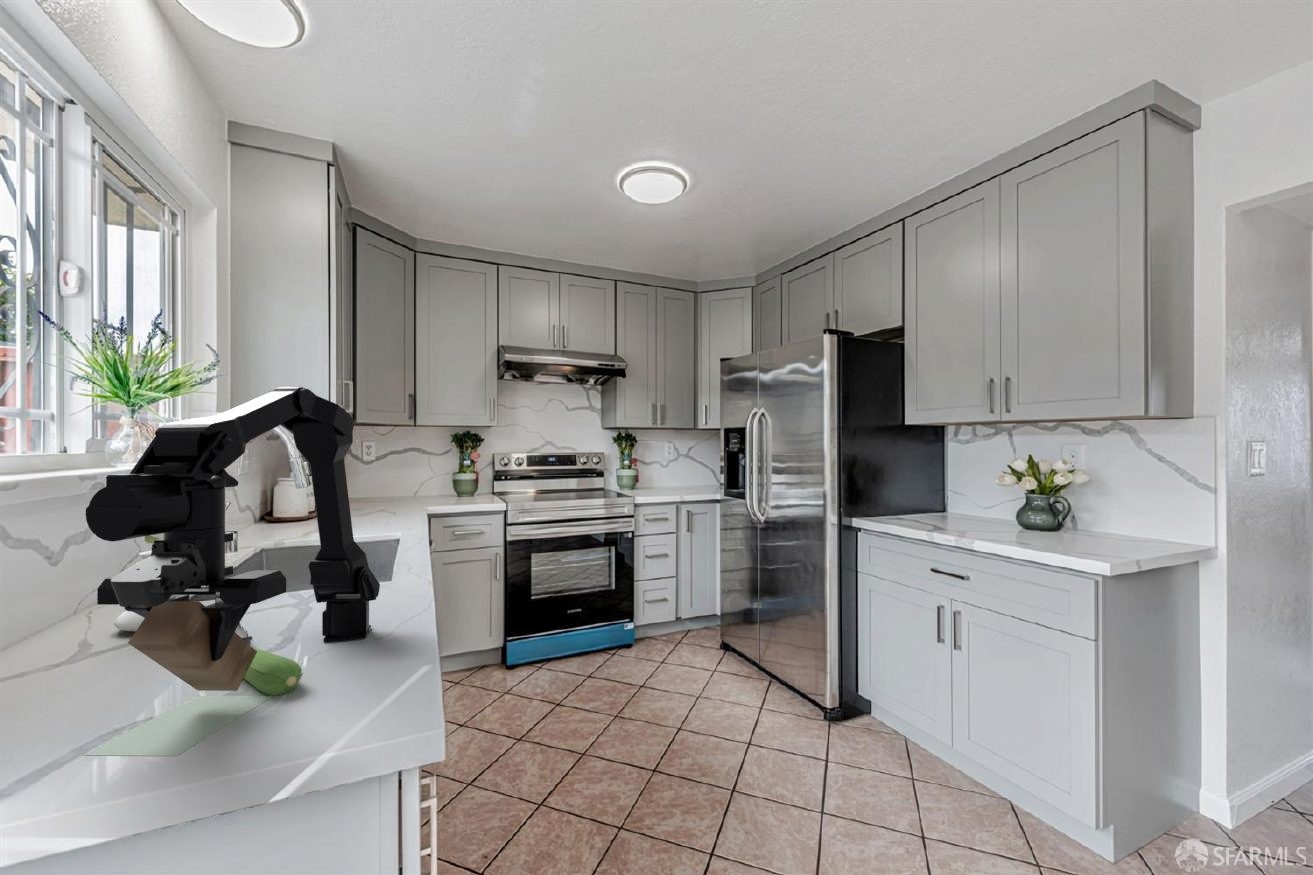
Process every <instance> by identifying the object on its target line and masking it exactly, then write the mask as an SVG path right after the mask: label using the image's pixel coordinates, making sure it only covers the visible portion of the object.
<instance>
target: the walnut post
mask: <svg viewBox="0 0 1313 875" xmlns="http://www.w3.org/2000/svg"><path fill="white" fill-rule="evenodd" d="M205 606H206V605H204V604H203V603H202V602H201V601H200V600H199V601H198V600H197V601H196V600H195V601H194V600H192V601H191V600H189V601H166V602H165V603H163V604H161V605H158V606H154V607H152V609H151V610H150V611H149V613H148V614H147V616H146V617H145V619H144V620H143V622H142V623H141V625H140V626H139V627H138V629H137V630H136V631H134V633H133V635H132V636H131V638H130V639H129V641H128V642H127V644H129V645H130V646H131V647H133V648H134V649H136V650H137V651H139V652H140V653H142V654H143V655H144V656H146V657H147V658H149V659H151V661H154V662H155V663H156V664H158V665H160V666H161V667H162V668H164V669H165V670H166V671H168V672H170V673H172V675H174V676H176V677H177V678H179V679H180V680H182V682H184V683H186V684H187V685H189V686H190V687H192V688H193V689H194V690H196V691H199V692H200V691H205V692H207V691H209V692H211V691H213V692H214V691H215V692H216V691H218V692H219V691H222V692H224V691H225V692H227V691H228V692H230V691H231V692H237V691H238V690H239V688H240V686H241V684H242V682H243V681H244V680H245V679H244V677H245V675H246V673H247V671H248V669H249V667H250V665H251V663H252V661H253V659H254V657H255V655H256V653H257V651H256V650H255V649H254V648H255V647H254V648H252V647H253V646H252V645H251V646H250V645H249V644H248V643H247V642H246V641H244V640H243V639H242V638H241V637H240V636H239V635H237V634H236V633H235V632H234V634H233V636H232V638H231V640H230V642H229V644H228V646H227V648H226V650H225V652H224V654H223V656H222V658H221V659H219V660H217V661H212V659H211V652H210V619H209V617H208V616H207V615H206V614H205V613H204V612H203V611H202V610H201V608H202V607H205Z"/></svg>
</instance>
